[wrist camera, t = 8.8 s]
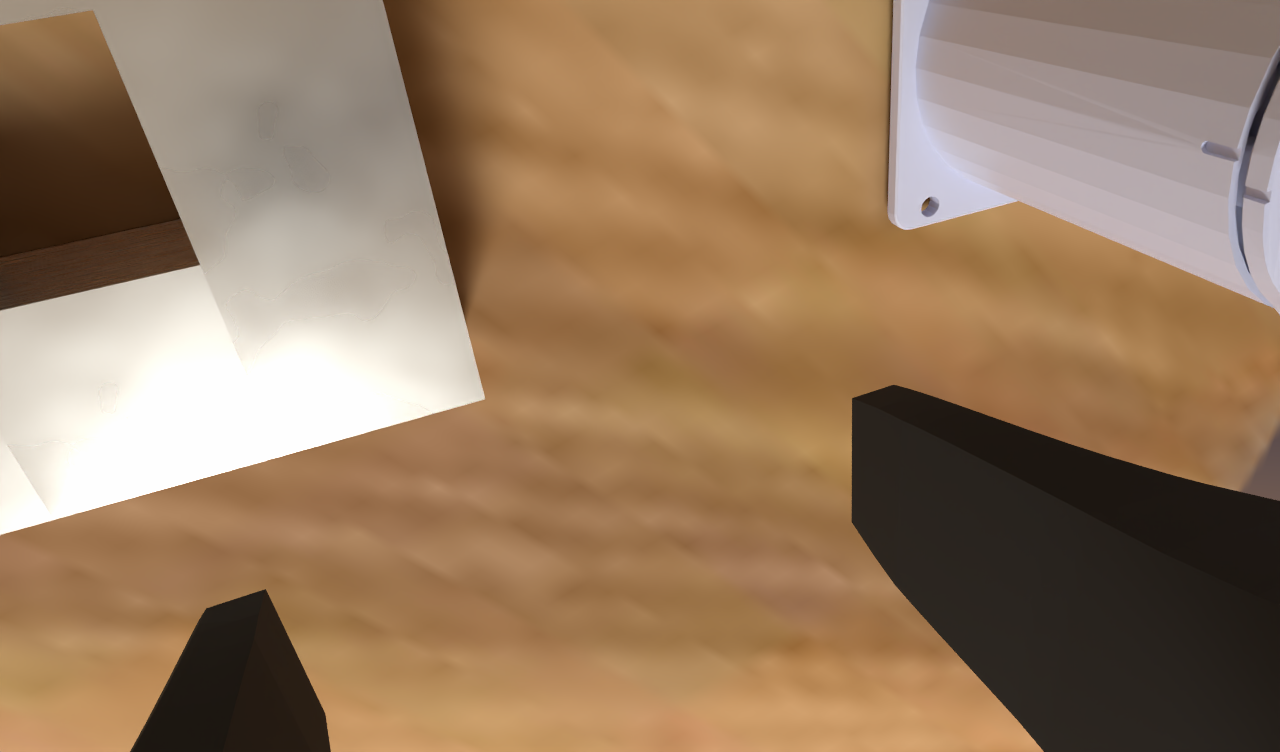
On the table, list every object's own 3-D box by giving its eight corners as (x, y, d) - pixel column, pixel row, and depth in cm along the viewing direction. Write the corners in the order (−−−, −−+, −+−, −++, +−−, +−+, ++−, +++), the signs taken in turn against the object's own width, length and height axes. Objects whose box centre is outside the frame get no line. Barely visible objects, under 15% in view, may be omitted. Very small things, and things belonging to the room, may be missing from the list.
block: (290, -323, 14) (286, -373, 11) (462, 336, 20) (485, 399, 17) (-672, -239, 11) (-954, -278, 9) (-129, 491, 17) (-201, 591, 15)
